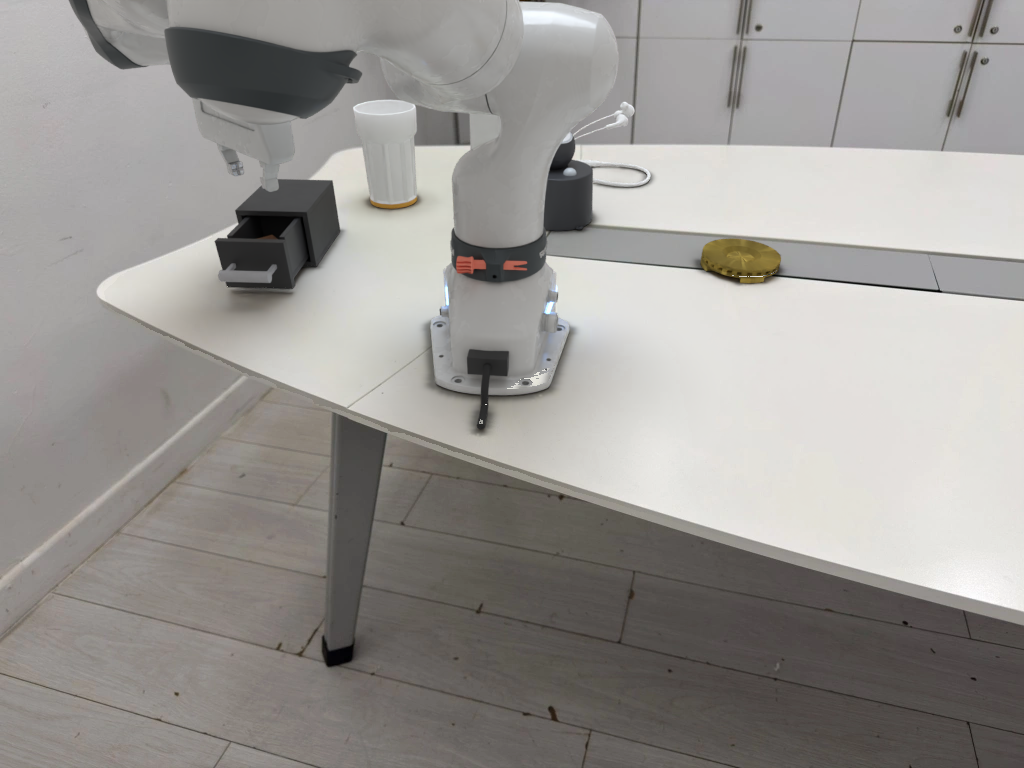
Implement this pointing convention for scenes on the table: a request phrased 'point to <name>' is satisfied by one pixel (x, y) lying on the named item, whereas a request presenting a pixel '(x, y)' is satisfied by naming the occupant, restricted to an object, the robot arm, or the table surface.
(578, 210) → the light fixture
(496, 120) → the milk carton
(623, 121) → the earphone
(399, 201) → the cup
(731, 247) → the compass
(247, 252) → the drawer
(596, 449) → the table surface
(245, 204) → the cabinet
